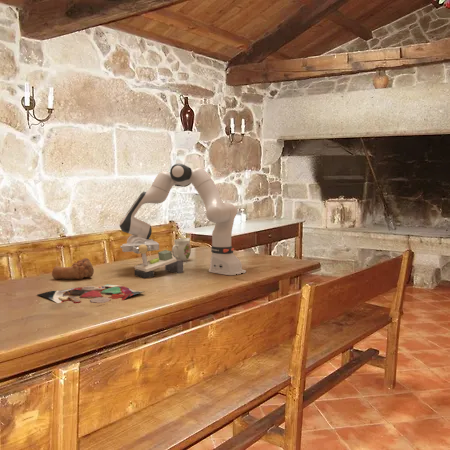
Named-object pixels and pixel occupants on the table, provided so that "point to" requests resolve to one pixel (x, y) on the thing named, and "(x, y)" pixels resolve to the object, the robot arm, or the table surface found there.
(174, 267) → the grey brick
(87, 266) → the clay pipe
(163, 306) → the table surface
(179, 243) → the pitcher
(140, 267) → the plate
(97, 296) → the colourful flat sheet
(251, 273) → the table surface
